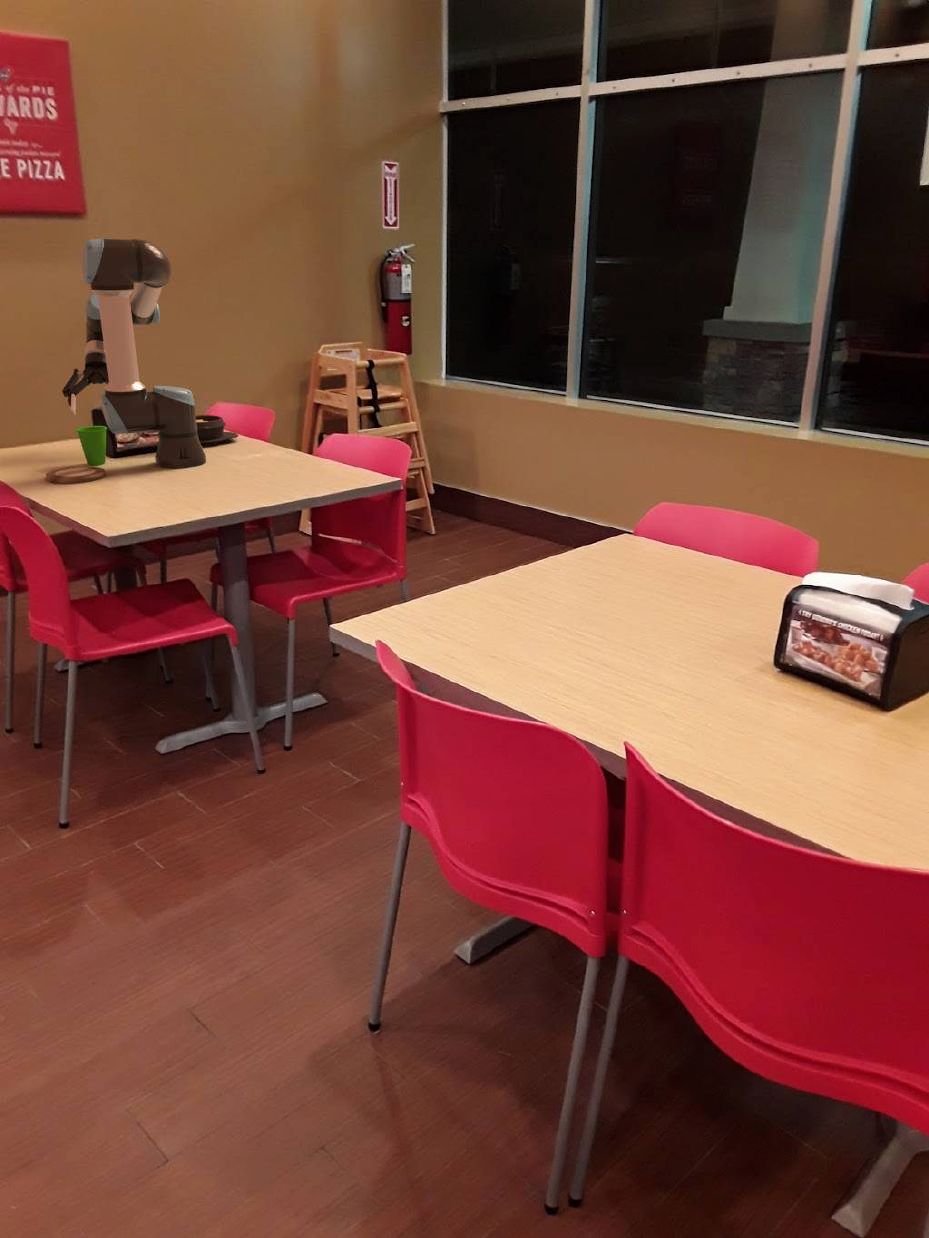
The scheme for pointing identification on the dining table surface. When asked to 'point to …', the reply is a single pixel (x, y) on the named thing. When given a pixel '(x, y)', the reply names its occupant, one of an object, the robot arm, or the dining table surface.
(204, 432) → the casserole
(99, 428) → the cup
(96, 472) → the walnut board
